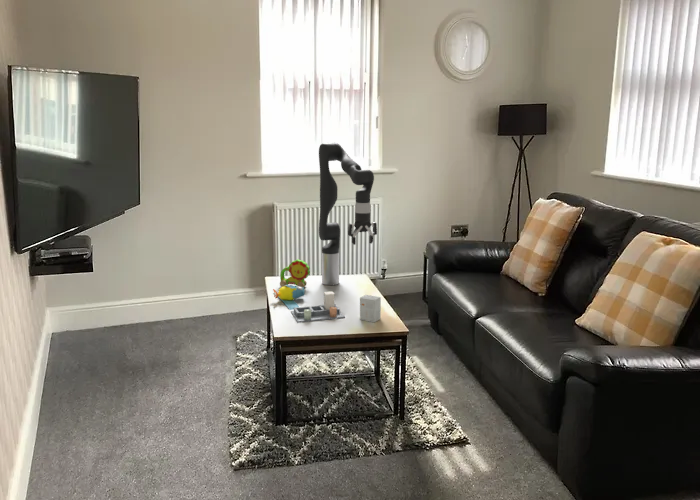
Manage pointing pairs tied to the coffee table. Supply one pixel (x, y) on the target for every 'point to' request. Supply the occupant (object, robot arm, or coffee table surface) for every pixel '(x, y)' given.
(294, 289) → the blue yellow plastic figure
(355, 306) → the coffee table surface
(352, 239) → the robot arm
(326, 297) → the plug
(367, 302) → the small box
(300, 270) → the toy lion
